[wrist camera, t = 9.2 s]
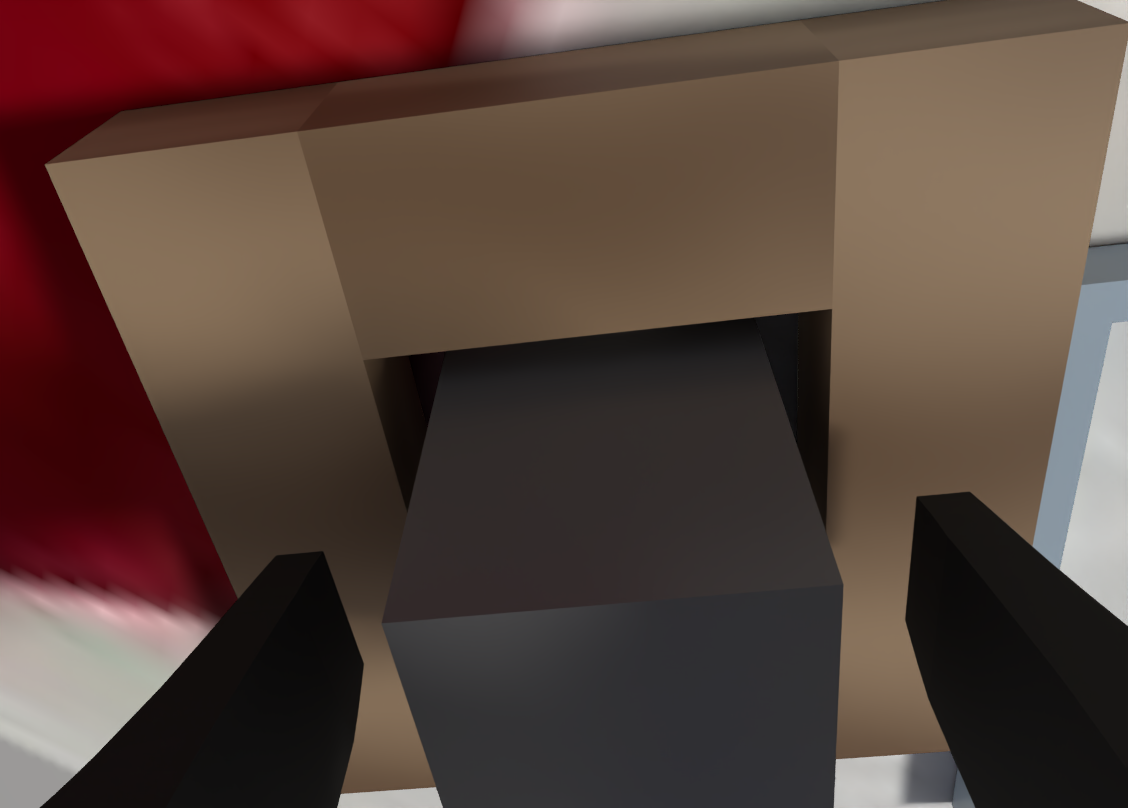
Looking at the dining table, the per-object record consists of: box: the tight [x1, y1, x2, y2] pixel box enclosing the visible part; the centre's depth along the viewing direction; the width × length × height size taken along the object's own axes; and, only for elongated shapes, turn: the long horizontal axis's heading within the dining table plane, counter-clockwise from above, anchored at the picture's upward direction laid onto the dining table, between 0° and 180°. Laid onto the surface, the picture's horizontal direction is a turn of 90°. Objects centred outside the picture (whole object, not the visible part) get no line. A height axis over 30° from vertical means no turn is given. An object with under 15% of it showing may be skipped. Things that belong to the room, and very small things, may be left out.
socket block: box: [45, 0, 1128, 794], centre depth 13 cm, size 11×11×2 cm
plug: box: [381, 317, 844, 808], centre depth 12 cm, size 4×4×6 cm
